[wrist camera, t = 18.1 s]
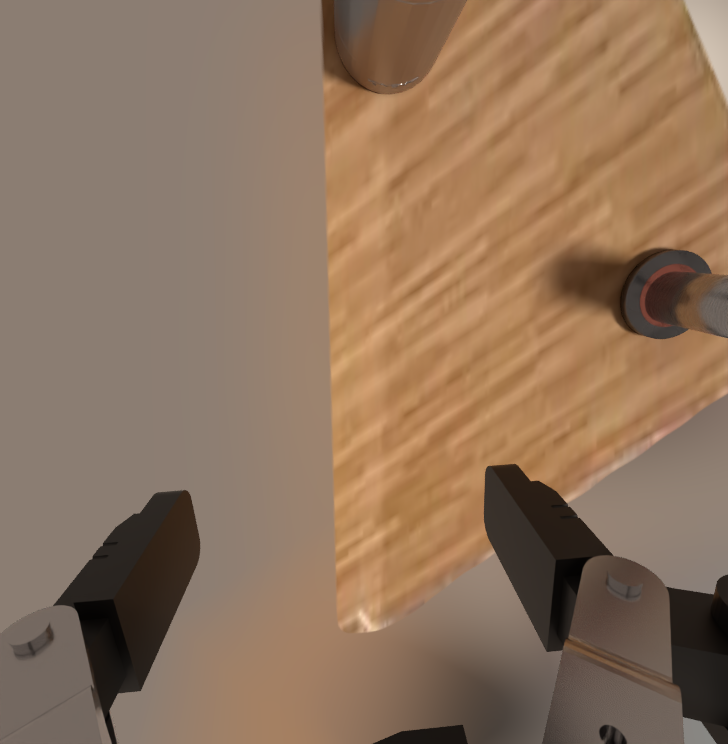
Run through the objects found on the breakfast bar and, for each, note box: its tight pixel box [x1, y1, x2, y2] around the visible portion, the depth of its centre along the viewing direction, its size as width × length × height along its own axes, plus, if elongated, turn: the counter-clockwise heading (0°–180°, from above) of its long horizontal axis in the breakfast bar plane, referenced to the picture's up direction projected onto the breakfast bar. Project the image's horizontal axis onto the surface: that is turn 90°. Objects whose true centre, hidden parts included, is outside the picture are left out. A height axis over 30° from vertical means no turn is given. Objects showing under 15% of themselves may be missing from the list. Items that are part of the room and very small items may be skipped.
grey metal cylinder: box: [645, 271, 728, 338], centre depth 37 cm, size 5×5×10 cm
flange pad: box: [621, 250, 711, 339], centre depth 43 cm, size 9×9×1 cm
